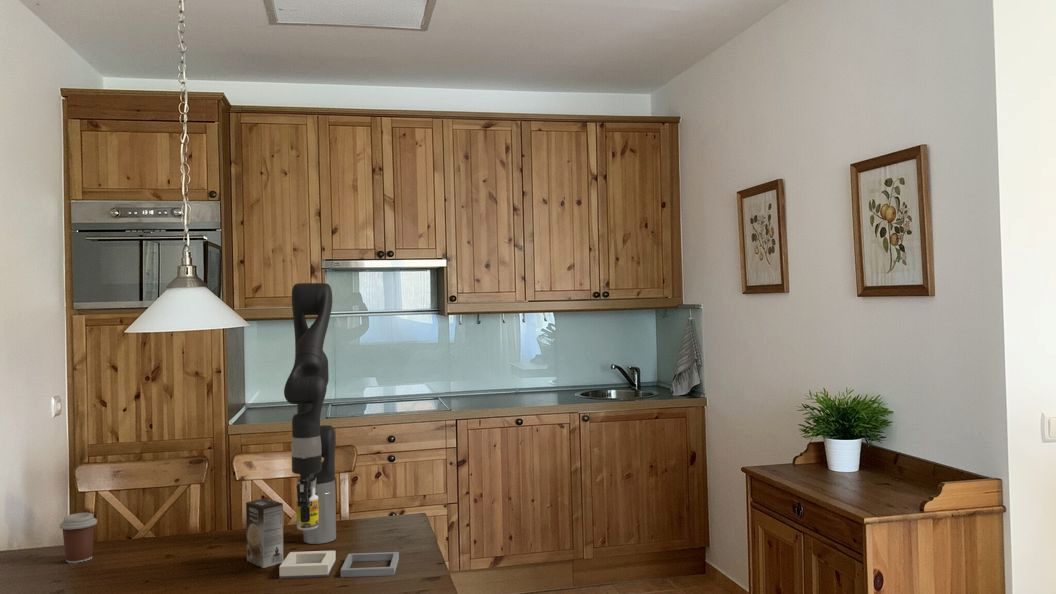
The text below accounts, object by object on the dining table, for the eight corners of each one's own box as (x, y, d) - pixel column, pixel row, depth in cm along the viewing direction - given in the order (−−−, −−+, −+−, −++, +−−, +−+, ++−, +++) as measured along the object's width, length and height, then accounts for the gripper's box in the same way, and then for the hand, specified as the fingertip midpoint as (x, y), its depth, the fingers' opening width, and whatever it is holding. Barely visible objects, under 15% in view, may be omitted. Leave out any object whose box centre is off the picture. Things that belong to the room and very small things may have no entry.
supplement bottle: (300, 532, 211) (300, 492, 211) (293, 527, 215) (293, 488, 215) (321, 528, 214) (321, 489, 214) (314, 523, 218) (314, 485, 218)
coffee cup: (52, 562, 224) (51, 518, 224) (84, 552, 232) (83, 510, 232) (73, 567, 220) (73, 522, 220) (105, 557, 228) (104, 513, 228)
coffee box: (245, 561, 222) (244, 501, 222) (267, 555, 227) (266, 497, 227) (263, 568, 216) (262, 507, 216) (285, 562, 221) (283, 502, 221)
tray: (348, 560, 222) (348, 553, 222) (398, 558, 223) (398, 551, 223) (340, 577, 209) (340, 570, 209) (394, 575, 209) (393, 568, 209)
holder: (290, 563, 220) (289, 552, 220) (335, 561, 221) (335, 550, 221) (279, 578, 208) (279, 566, 208) (327, 576, 209) (327, 565, 209)
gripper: (297, 449, 222) (298, 512, 222) (285, 459, 207) (286, 526, 207) (326, 448, 222) (327, 511, 222) (316, 458, 208) (317, 525, 208)
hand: (307, 518), depth 215 cm, fingers closed on supplement bottle, 5 cm apart
